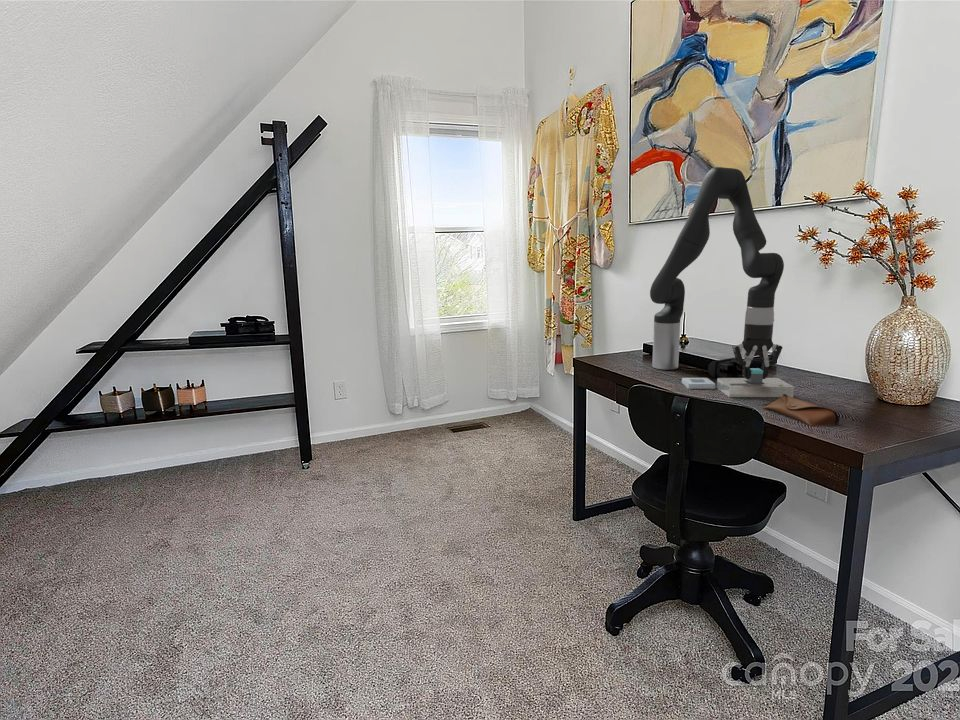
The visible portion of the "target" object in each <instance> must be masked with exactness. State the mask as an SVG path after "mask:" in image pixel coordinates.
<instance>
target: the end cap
mask: <svg viewBox="0 0 960 720" xmlns="http://www.w3.org/2000/svg"><path fill="white" fill-rule="evenodd" d="M738 367H742V368H743V366H742V365H740V364H738V363H737V362H736V359H735V357H730V358H724V359H717V360H713V361H711V362H709V363H708V366H707V371H708V374H709V376H710V377H711V378H733V377H735V378H743V377H744V376H743V375H742V373H743V369H739V368H738Z"/></svg>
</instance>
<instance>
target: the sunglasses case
mask: <svg viewBox="0 0 960 720" xmlns="http://www.w3.org/2000/svg"><path fill="white" fill-rule="evenodd" d="M762 409H763V410H767V411H770V412H772V411H773V413H776V414H778V415H781V416H783V417H787V418H789V419H792V420H795V421H797V422H799V421H800V423H802V424H804V425H807V426H809V427H819V426H827V425H828V426H829V425H838V424H839V423H840V416H839V414H838V412H836V411H835V410H834V409H830V408H828V407H824V406H820V405H816V404H813V403H812V402H811V403H810V402H807V401H804V400H803V399H799V398H795V397H794V396H793V397H790V396H788V395H786V394H783V396H782V397H777V399H775V400H774V401H772V402H769V403H768V404H767V405H766V406H764V407H762Z"/></svg>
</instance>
